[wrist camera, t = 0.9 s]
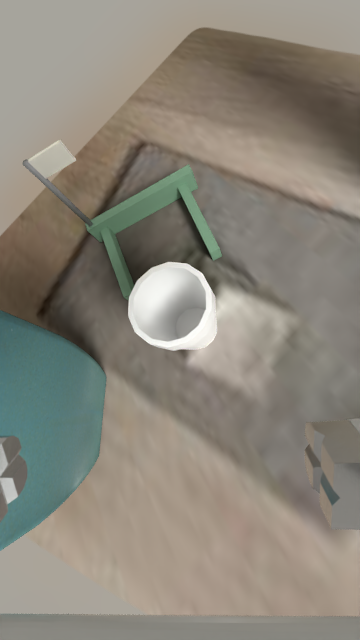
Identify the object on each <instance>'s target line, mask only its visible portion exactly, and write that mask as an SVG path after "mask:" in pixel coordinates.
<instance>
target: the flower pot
mask: <svg viewBox="0 0 360 640" xmlns="http://www.w3.org/2000/svg"><path fill="white" fill-rule="evenodd" d="M105 387H106V375H105V373H104V371H103V370H102V368H101V367H100V366H99V364H98V363H97V362H96V361H95V360H94V359H93V358H92V357H91V356H90V355H89V354H87V353H86V352H85V351H84V350H82V349H81V348H80V347H78V346H77V345H75V344H74V343H72V342H70V341H69V340H67V339H65V338H64V337H62V336H60V335H58V334H55V333H53V332H51V331H48V330H46V329H44V328H41V327H39V326H37V325H34V324H32V323H30V322H27V321H25V320H22V319H20V318H18V317H15V316H13V315H11V314H8V313H6V312H4V311H1V310H0V436H12V435H13V436H15V437H17V438H19V441H20V444H21V447H22V448H21V450H20V452H19V455H20V456H21V457H22V458H23V459H24V460H25V461H26V465H27V480H26V483H25V486H24V488H23V490H22V492H21V493H20V495H19V496H18V497H17V498H16V499H14V500H13V501H11V502H10V503H9V504H8V512H7V514H6V515H5V516H4V518H3V519H2V521H1V522H0V551H1V550H2V549H4V548H5V547H7V546H8V545H10V544H11V543H13V542H14V541H16V540H17V539H18V538H20V537H21V536H23V535H24V534H26V533H27V532H29V531H30V530H32V529H33V528H34V527H36V526H37V525H39V524H40V523H41V522H42V521H43V520H45V519H46V518H47V517H48V516H49V515H50V514H52V513H53V512H54V511H55V510H56V509H57V508H58V507H59V506H60V505H61V504H62V503H63V502H64V501H65V500H66V499H67V498H68V497H69V496H70V495H71V494H72V493H73V492H74V491H75V490H76V488H77V487H78V486H79V485H80V484H81V483H82V481H83V480H84V479H85V477H86V476H87V475H88V473H89V472H90V470H91V469H92V467H93V466H94V464H95V462H96V460H97V459H98V457H99V450H100V440H101V429H102V418H103V408H104V397H105Z"/></svg>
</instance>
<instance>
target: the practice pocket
mask: <svg viewBox="0 0 360 640" xmlns="http://www.w3.org/2000/svg"><path fill="white" fill-rule="evenodd" d="M74 161H76V158H75V157H74V156H73V155H72V153H71V152H70V151H69V150H68V149H67V147H66V146H65V145H64V144H63V142H61V140H58V141H56V142H55V143H53V144H52V145H50V146H49V147H47V148H45V149H44V150H42V151H41V152H39V153H38V154H36V155H34V156H33V157H31V158H30V159H28V160H25V161H23V165H24V166H25V167H26V168H27V169H28V170H29V171H30V172H32V174H34V175H35V176H36V177H37V178H38V179H39V180H40V181H41V182H42V183H43V184H44V185H45V186H46V187H47V188H49V189H50V190H51V191H52V192H53V193H54V194H55V195H56V196H57V197H58V198H59V199H60V200H61V201H63V202H64V203H65V204H66V205H67V206H68V207H69V208H70V209H71V210H72V211H73V212H74V213H75V214H77V215H78V216H79V217H80V218H81V219H82V220H83V221H84V222H85V225H86V228H87V231H88V232H89V233H91V234H92V235H93V236H94V237H95V238H96V239H97V240H98V241H99V242H102V241H104V243H105V246H106V249H107V252H108V255H109V257H110V260H111V263H112V266H113V269H114V271H115V274H116V277H117V280H118V283H119V286H120V288H121V291H122V294H123V297H124V298H125V299H127V300H128V301H129V296H130V294H131V292H132V290H133V288H134V283H133V281H132V278H131V275H130V273H129V270H128V267H127V265H126V262H125V259H124V257H123V254H122V251H121V249H120V246H119V243H118V241H117V238H116V235H115V234H116V233H118V232H120V231H122V230H123V229H125V228H127V227H129V226H131V225H132V224H134V223H136V222H138V221H140V220H141V219H143V218H145V217H147V216H149V215H150V214H152V213H154V212H156V211H158V210H159V209H161V208H163V207H165V206H167V205H169V204H170V203H172V202H174V201H176V200H178V199H179V198H181V197H182V198H183V200H184V202H185V204H186V206H187V208H188V210H189V212H190V215H191V217H192V219H193V221H194V223H195V225H196V227H197V229H198V231H199V233H200V235H201V237H202V239H203V241H204V243H205V245H206V247H207V249H208V251H209V253H210V255H211V257H212V259H213V260H215V259H217V258H219V257H221V256H222V254H221V251H220V248H219V246H218V244H217V242H216V241H215V239H214V237H213V235H212V233H211V231H210V229H209V227H208V225H207V223H206V221H205V219H204V217H203V215H202V213H201V211H200V209H199V207H198V205H197V203H196V201H195V199H194V197H193V195H192V193H191V192H192V191H194V190H196V189H197V188H198V186H197V183H196V180H195V177H194V174H193V172H192V170H191V168H190V166H189V164H188V165H187V166H185V167H183V168H181V169H180V170H178V171H176V172H174V173H173V174H171V175H169V176H167V177H166V178H164V179H162V180H160V181H159V182H157V183H155V184H153V185H152V186H150V187H148V188H146V189H145V190H143V191H141V192H139V193H138V194H136V195H134V196H132V197H131V198H129V199H127V200H125V201H124V202H122V203H120V204H118V205H117V206H115V207H113V208H111V209H109V210H108V211H106V212H104V213H102V214H101V215H99V216H97V217H95V218H94V219H92V220H89V219H88V218H87V217H86V216H85V215H84V214H83V213H82V212H81V211H80V210H79V209H78V208H77V207H76V206H75V205H74V204H73V203H72V202H71V201H70V200H69V199H68V198H67V197H66V196H64V195H63V194H62V193H61V192H60V191H59V190H58V189H57V188H56V187H55V186H54V185H53V184H52V183H51V182H50V181H49V180H48V179H47V178H48V177H50V176H52V175H53V174H55V173H57V172H58V171H60V170H61V169H63V168H65V167H66V166H68V165H70V164H71V163H73V162H74Z"/></svg>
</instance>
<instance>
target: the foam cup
mask: <svg viewBox="0 0 360 640" xmlns="http://www.w3.org/2000/svg"><path fill="white" fill-rule="evenodd" d="M128 317H129V319H130V321H131V324H132V326H133V328H134V331H135V333H137V334H138V335H139V336H140V337H141V338H143V339H144V340H145V341H146V342H147V343H149V344H151V345H153V346H155V347H159V348H164V349H169V350H174V351H175V350H179V349H191V350H197V349H200V348H204V347H206V346H207V345H209V344H210V343H211V342H212V341H213V340H214V338H215V335H216V333H217V318H216V309H215V295H214V294H213V292H212V290H211V288H210V286H209V285H208V283H207V281H206V279H205V277H204V275H203V274H202V273H201V272H199V271H198V270H196V269H195V268H193V267H192V266H190V265H189V264H186V263H176V262H167V263H164V264H161V265H158V266H155V267H152V268H151V269H149V270H148V271H147V272H146V273H145V274H144V275H143V276H142V277H140V278H139V279H138V280H137V282H136V284H135V286H134V288H133V290H132V292H131V294H130V296H129V307H128Z"/></svg>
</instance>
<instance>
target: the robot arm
mask: <svg viewBox="0 0 360 640" xmlns="http://www.w3.org/2000/svg"><path fill="white" fill-rule="evenodd" d="M305 437H306V439H307V441H308V443H309V445H308V446H307V448H306V449H305V465H306V471H307V475H308V478H309V481H310V483H311V485H312V488H313V489H314V490H315V491H317V492H318V493H319V494H320V506H321V508H322V510H323V512H324V515H325V517H326V519H327V521H328V523H329V526H330V528H331V529H355V530H360V418H358V419H346V420H337V421H319V422H306V426H305ZM21 448H22V447H21V444H20V441H19V438H17V437H15V436H13V435H12V436H0V522H1V521H2V519H3V518H4V516H5V515H6V514H7V512H8V504H9V503H10V502H11V501H13V500H14V499H16V498H17V497H18V496H19V495H20V493H21V492H22V490H23V488H24V486H25V483H26V480H27V465H26V461H25V460H24V459H23V458H22V457H21V456H20V455H19V452H20V450H21ZM0 640H360V616H221V615H88V614H86V615H85V614H83V615H82V614H0Z"/></svg>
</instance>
